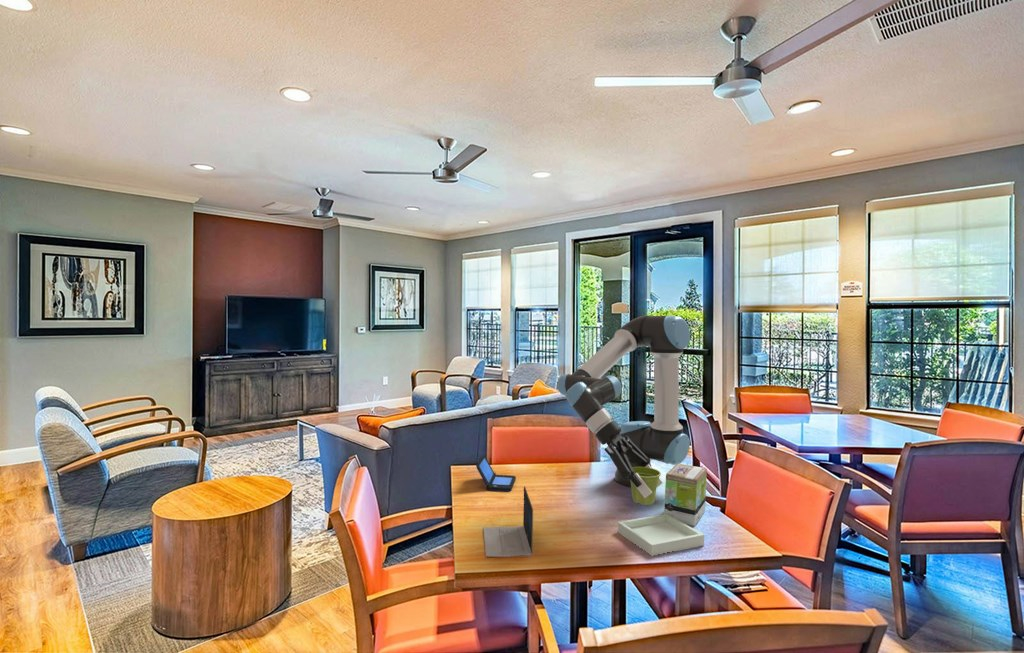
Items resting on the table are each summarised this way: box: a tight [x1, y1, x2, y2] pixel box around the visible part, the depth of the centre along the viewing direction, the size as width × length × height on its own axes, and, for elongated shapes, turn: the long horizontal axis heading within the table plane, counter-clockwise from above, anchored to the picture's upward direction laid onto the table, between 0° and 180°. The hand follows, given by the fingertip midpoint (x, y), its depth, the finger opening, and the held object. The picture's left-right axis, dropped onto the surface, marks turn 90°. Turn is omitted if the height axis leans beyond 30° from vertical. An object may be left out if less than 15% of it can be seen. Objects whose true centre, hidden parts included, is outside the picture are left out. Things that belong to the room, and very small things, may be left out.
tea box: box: [663, 463, 708, 527], centre depth 161 cm, size 15×10×15 cm
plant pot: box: [630, 467, 662, 505], centre depth 144 cm, size 9×9×9 cm
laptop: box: [482, 486, 534, 558], centre depth 141 cm, size 18×12×13 cm
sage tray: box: [617, 513, 705, 557], centre depth 144 cm, size 18×16×3 cm
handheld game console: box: [475, 455, 517, 492], centre depth 189 cm, size 16×13×9 cm
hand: (654, 490), depth 143 cm, fingers closed on plant pot, 9 cm apart
